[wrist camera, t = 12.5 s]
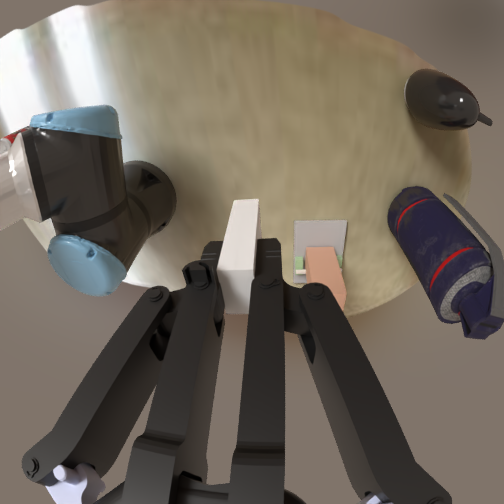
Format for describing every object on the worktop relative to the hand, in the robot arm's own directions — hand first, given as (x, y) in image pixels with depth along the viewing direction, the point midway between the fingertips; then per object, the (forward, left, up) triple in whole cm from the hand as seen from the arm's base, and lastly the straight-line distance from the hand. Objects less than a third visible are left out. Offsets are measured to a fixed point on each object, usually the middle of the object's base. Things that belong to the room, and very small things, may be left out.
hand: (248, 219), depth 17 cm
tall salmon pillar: (+10, -25, -28) cm, 39 cm away
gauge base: (+10, -25, -29) cm, 40 cm away
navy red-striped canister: (+29, -14, -30) cm, 44 cm away
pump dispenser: (+28, +8, -30) cm, 41 cm away
